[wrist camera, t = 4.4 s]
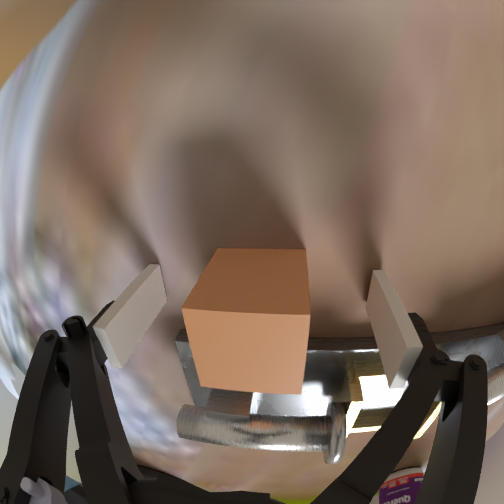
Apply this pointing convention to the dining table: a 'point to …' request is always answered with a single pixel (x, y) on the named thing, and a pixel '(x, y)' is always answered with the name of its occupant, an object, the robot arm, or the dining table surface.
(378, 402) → the board
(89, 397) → the robot arm
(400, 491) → the pill bottle
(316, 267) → the dining table surface
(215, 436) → the shaft
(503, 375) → the shaft
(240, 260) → the block
